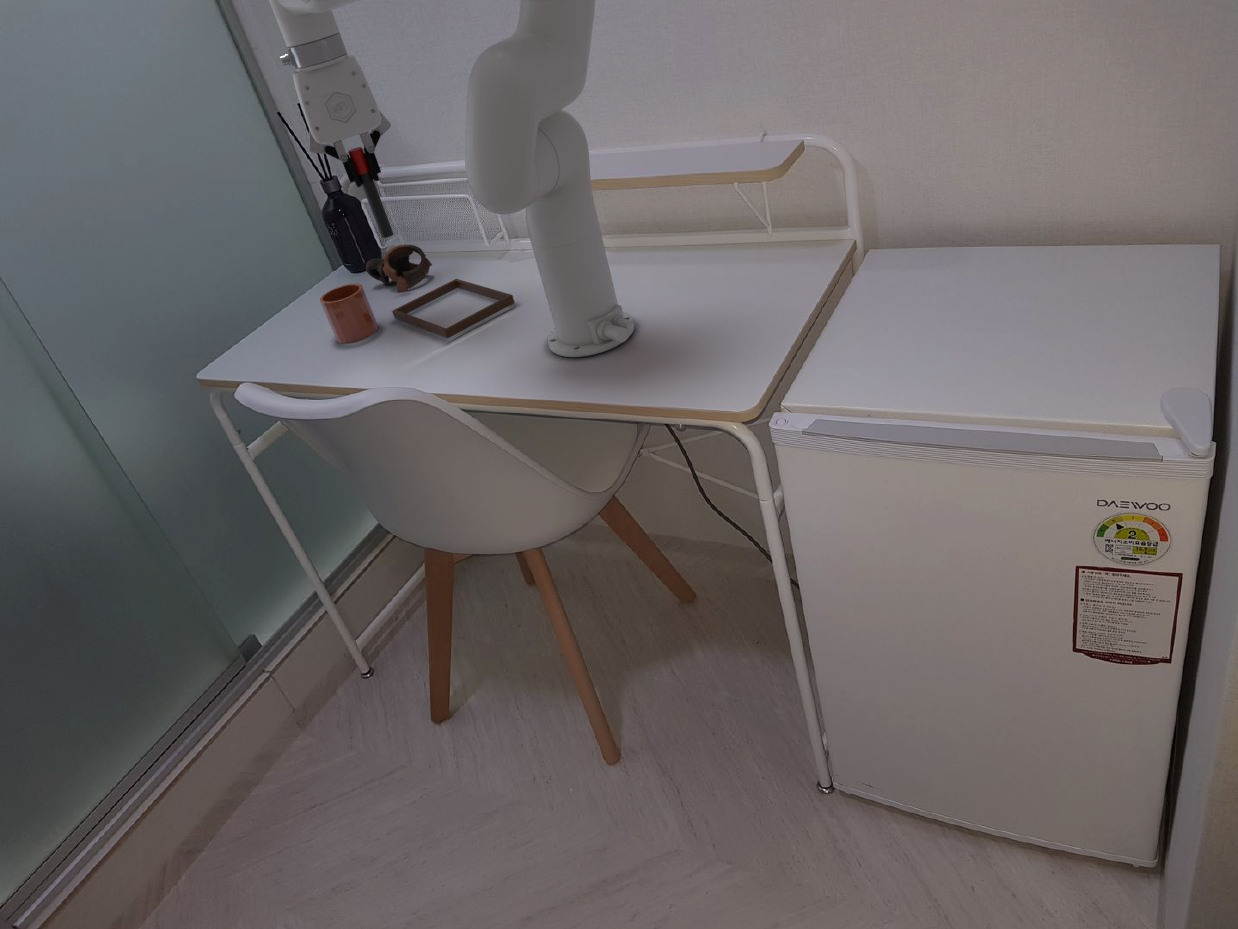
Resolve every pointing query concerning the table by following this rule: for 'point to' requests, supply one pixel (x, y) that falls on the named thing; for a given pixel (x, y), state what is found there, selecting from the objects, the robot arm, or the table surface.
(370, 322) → the pen cup
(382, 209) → the marker
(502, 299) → the tray
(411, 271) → the pottery mug
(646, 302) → the table surface
